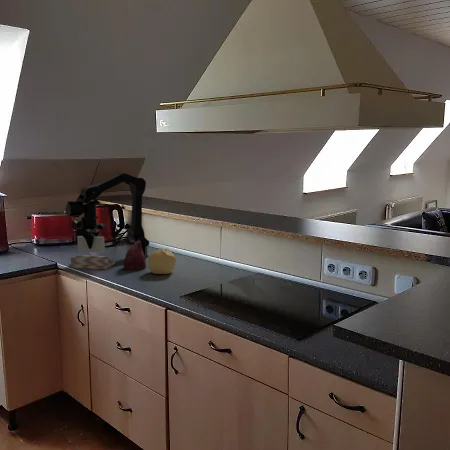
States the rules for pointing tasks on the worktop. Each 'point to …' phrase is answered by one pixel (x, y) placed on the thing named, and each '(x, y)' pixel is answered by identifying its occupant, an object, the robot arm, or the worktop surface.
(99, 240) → the rectangular block
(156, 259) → the yellow rounded lump
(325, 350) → the worktop surface
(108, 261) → the track
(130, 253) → the vegetable
